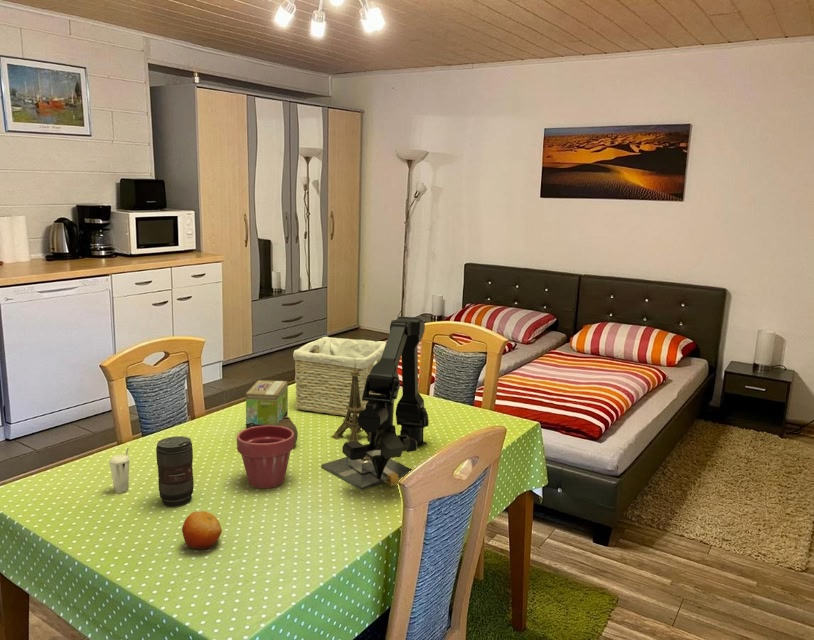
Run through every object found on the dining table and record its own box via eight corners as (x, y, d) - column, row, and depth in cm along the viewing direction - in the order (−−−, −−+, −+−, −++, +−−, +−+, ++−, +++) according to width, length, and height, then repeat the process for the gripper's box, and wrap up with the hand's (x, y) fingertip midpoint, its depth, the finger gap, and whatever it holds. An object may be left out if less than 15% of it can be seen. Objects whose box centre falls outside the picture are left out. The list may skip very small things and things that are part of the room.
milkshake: (137, 486, 163) (135, 449, 161) (122, 495, 158) (119, 457, 156) (123, 483, 164) (120, 446, 163) (107, 492, 160) (104, 454, 158)
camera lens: (201, 495, 159) (199, 437, 156) (181, 510, 151) (178, 449, 149) (173, 490, 161) (170, 433, 158) (151, 505, 154) (148, 445, 151)
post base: (370, 452, 188) (370, 432, 186) (412, 472, 174) (412, 451, 173) (321, 467, 176) (321, 446, 175) (361, 490, 163) (362, 467, 162)
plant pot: (286, 466, 177) (286, 421, 175) (301, 486, 165) (300, 439, 162) (233, 474, 171) (231, 428, 169) (244, 497, 158) (242, 447, 156)
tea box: (278, 441, 195) (277, 393, 192) (245, 440, 195) (243, 393, 192) (288, 424, 210) (287, 379, 207) (257, 423, 210) (256, 379, 207)
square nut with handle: (348, 464, 176) (348, 454, 176) (371, 458, 180) (371, 449, 180) (382, 488, 162) (382, 477, 162) (406, 481, 166) (406, 471, 166)
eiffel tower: (330, 437, 199) (330, 358, 194) (357, 429, 206) (357, 352, 201) (352, 447, 191) (352, 364, 187) (379, 438, 199) (380, 359, 194)
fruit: (178, 529, 140) (197, 499, 139) (211, 545, 141) (229, 516, 140) (168, 549, 132) (187, 517, 131) (203, 566, 133) (222, 535, 132)
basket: (391, 397, 239) (392, 340, 235) (365, 421, 213) (366, 356, 209) (323, 390, 246) (323, 334, 242) (291, 412, 221) (290, 350, 217)
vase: (292, 452, 187) (292, 423, 185) (270, 449, 188) (269, 421, 186) (301, 443, 193) (300, 415, 192) (279, 441, 195) (278, 413, 193)
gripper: (361, 434, 152) (358, 497, 155) (429, 425, 161) (426, 485, 164) (342, 420, 162) (340, 479, 164) (408, 412, 171) (404, 468, 173)
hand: (378, 478), depth 166 cm, fingers closed
